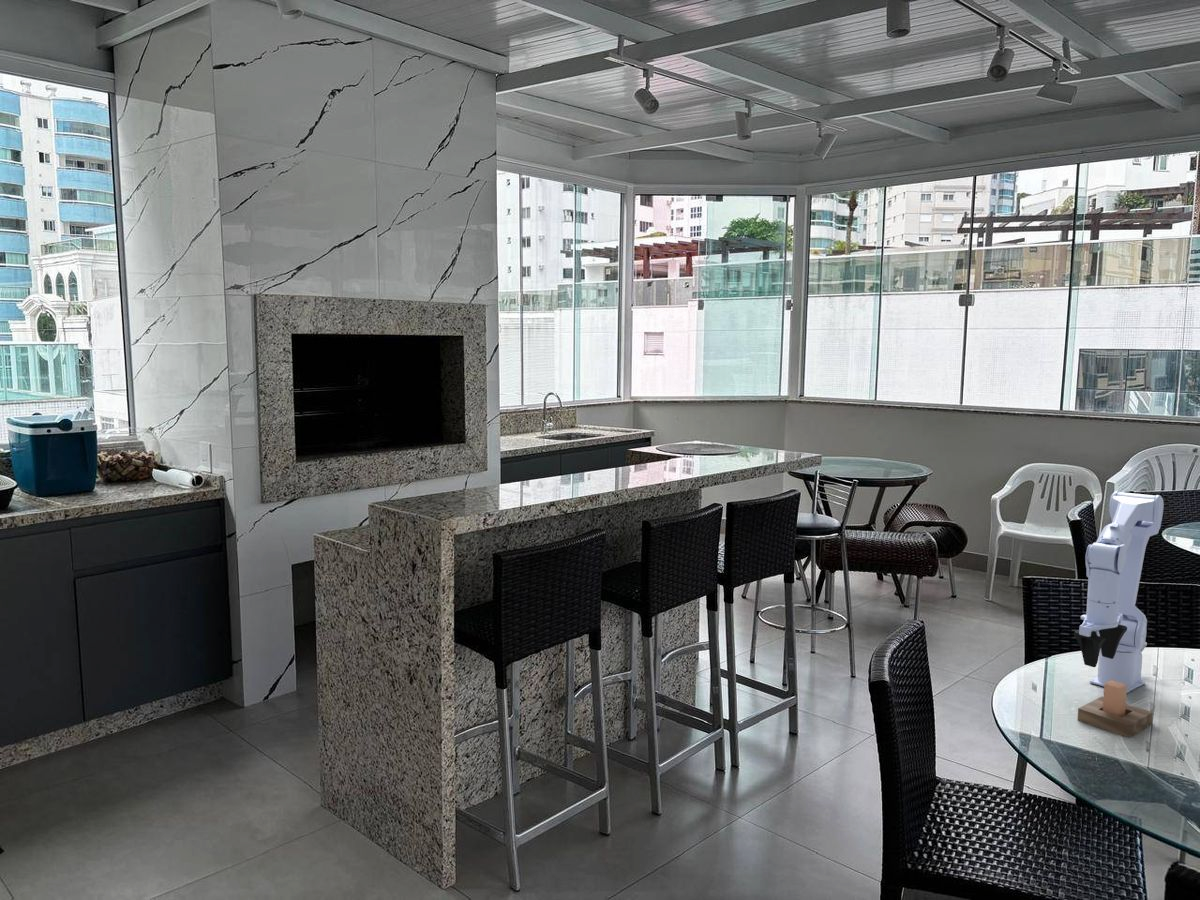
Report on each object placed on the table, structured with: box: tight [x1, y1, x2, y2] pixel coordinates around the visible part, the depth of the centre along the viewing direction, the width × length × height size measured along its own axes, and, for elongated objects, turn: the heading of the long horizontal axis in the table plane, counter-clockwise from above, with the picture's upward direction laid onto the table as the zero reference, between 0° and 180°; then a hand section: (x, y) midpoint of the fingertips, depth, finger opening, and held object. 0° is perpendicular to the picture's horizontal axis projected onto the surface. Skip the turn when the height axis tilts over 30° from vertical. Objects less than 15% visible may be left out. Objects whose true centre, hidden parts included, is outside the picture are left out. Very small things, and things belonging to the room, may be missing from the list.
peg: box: [1103, 680, 1127, 717], centre depth 179 cm, size 3×3×8 cm
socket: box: [1077, 695, 1154, 738], centre depth 180 cm, size 10×10×2 cm
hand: (1099, 661), depth 186 cm, fingers open, 7 cm apart
